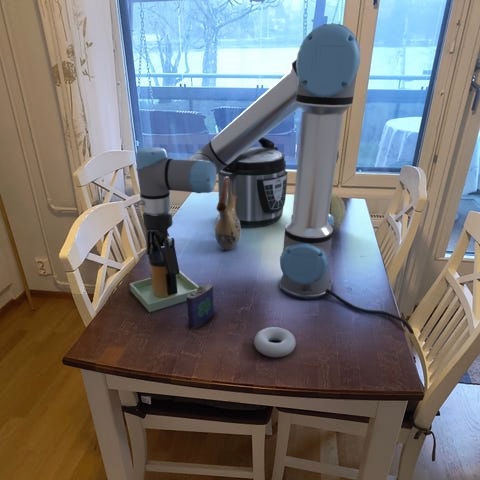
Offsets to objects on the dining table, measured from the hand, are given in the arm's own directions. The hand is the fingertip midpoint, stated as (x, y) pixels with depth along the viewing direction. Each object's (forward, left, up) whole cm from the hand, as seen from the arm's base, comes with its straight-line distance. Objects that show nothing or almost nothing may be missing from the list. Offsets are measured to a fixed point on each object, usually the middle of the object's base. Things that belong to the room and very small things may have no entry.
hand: (164, 286), depth 123 cm
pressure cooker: (+39, -58, -2) cm, 70 cm away
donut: (-39, -11, -2) cm, 40 cm away
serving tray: (0, 0, -2) cm, 2 cm away
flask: (-19, -2, -2) cm, 19 cm away
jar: (0, 0, -2) cm, 2 cm away
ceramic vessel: (+18, -33, -2) cm, 38 cm away
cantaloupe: (+12, -74, -2) cm, 75 cm away
